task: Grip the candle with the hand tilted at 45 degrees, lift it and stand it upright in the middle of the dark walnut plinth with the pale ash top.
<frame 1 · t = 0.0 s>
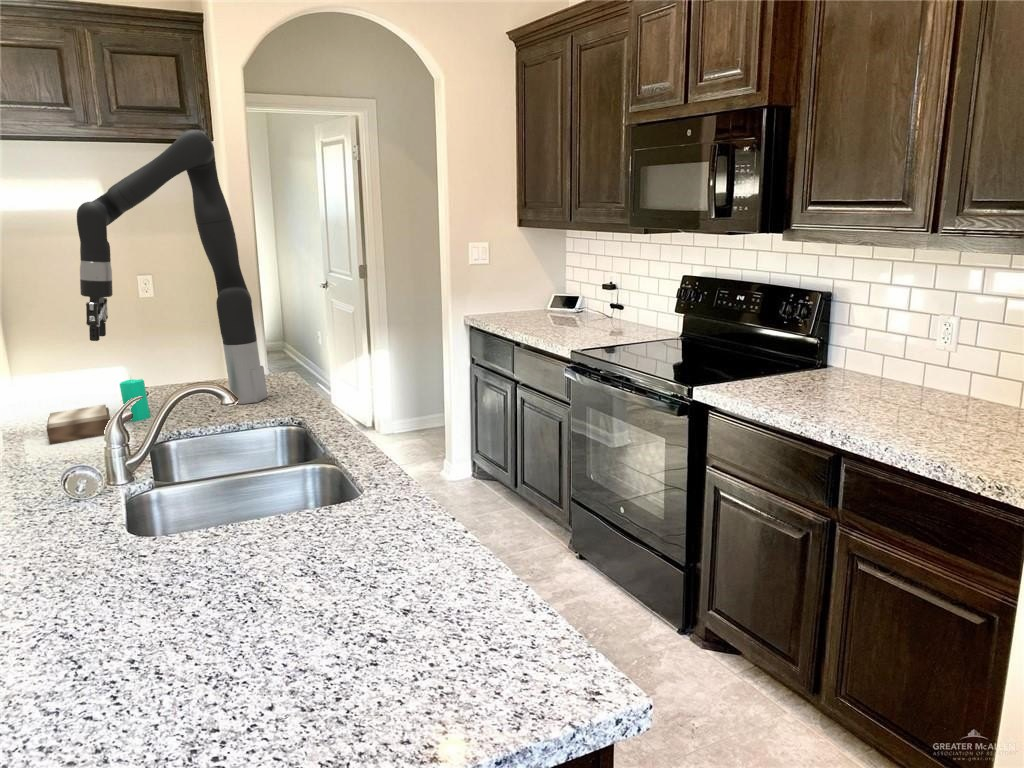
hand: (98, 338, 204), 22 cm above the countertop, tool pointing down, fingers open, 8 cm apart
plinth: (81, 432, 196), on the countertop
candle: (138, 418, 207), on the countertop
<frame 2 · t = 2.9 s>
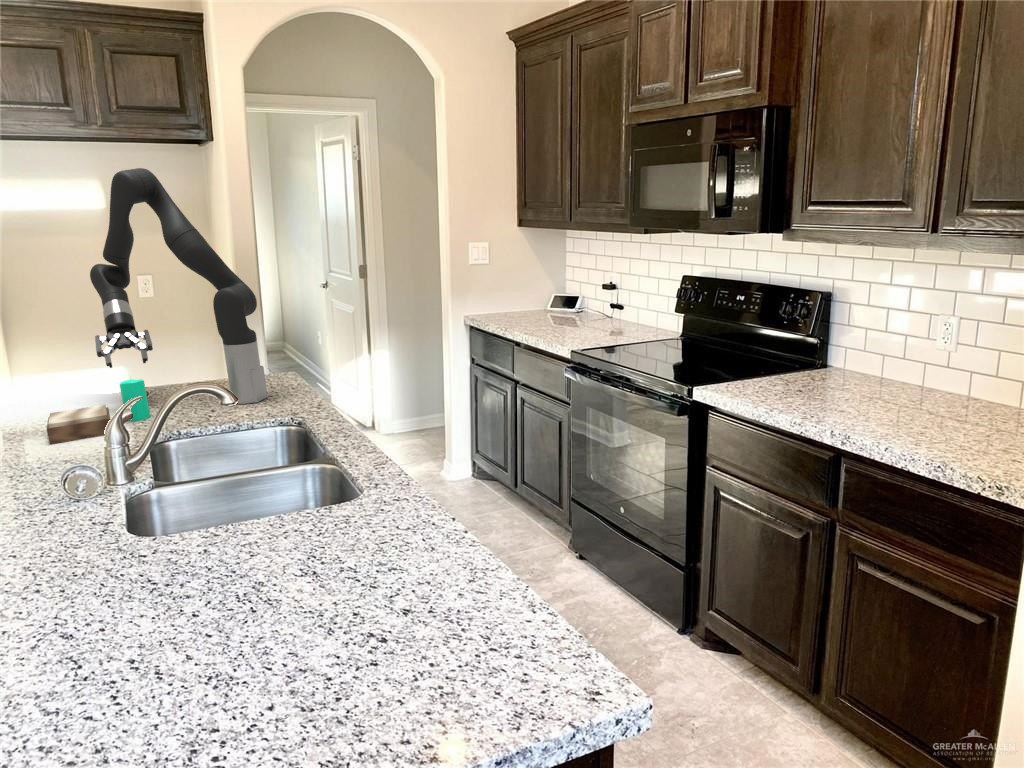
hand: (127, 363, 212), 14 cm above the countertop, tool tilted 45°, fingers open, 8 cm apart
nothing on the countertop moved.
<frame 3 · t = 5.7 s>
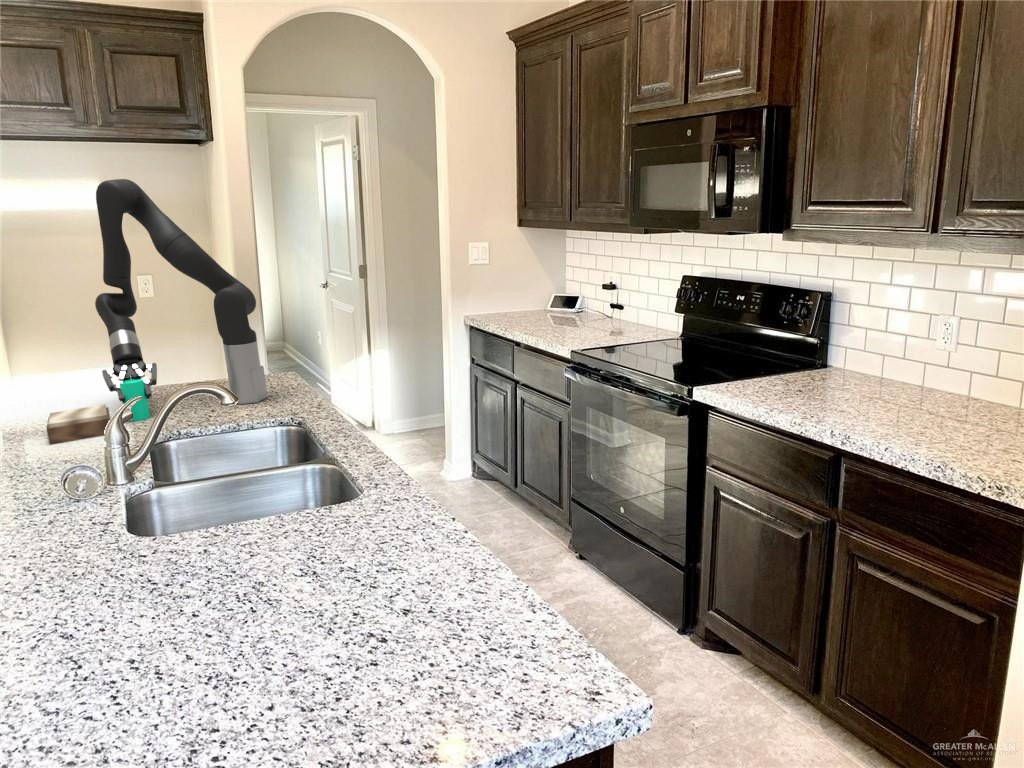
hand: (136, 399, 205), 6 cm above the countertop, tool tilted 45°, fingers closed on candle, 5 cm apart
candle: (138, 418, 207), on the countertop, touching gripper
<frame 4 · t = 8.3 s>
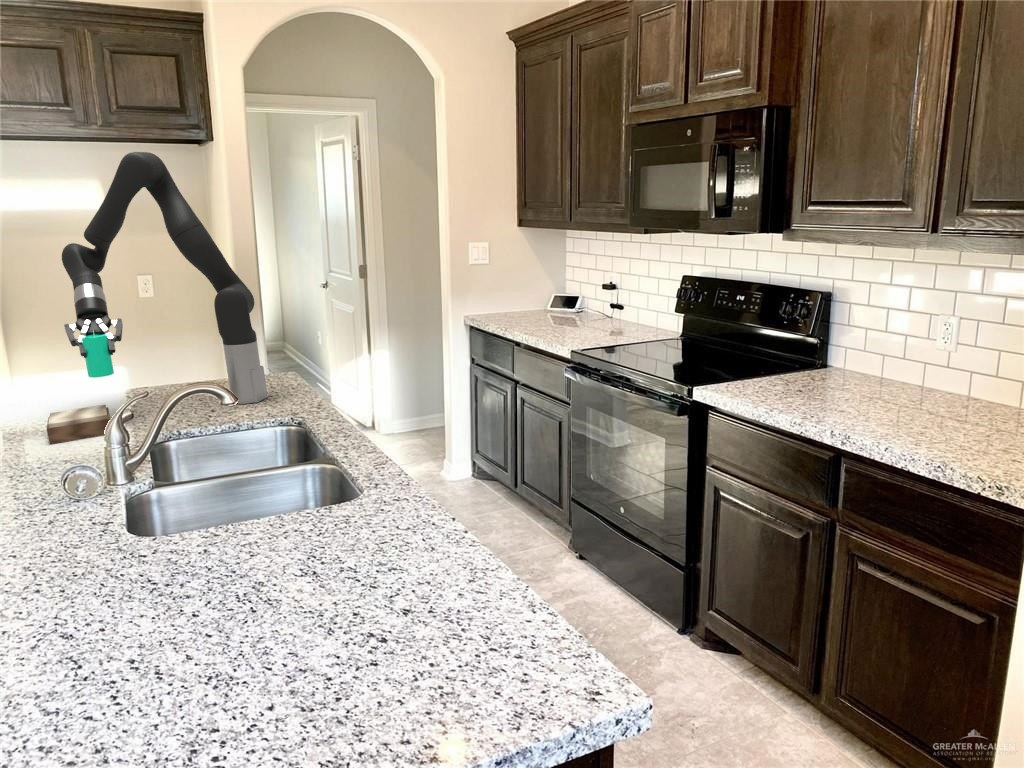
hand: (98, 354, 197), 19 cm above the countertop, tool tilted 45°, fingers closed on candle, 5 cm apart
candle: (101, 375, 200), point 13 cm above the countertop, touching gripper
when the fingers open (12 cm above the countertop, at t = 10.9 s): candle moves 1 cm, point 5 cm above the countertop.
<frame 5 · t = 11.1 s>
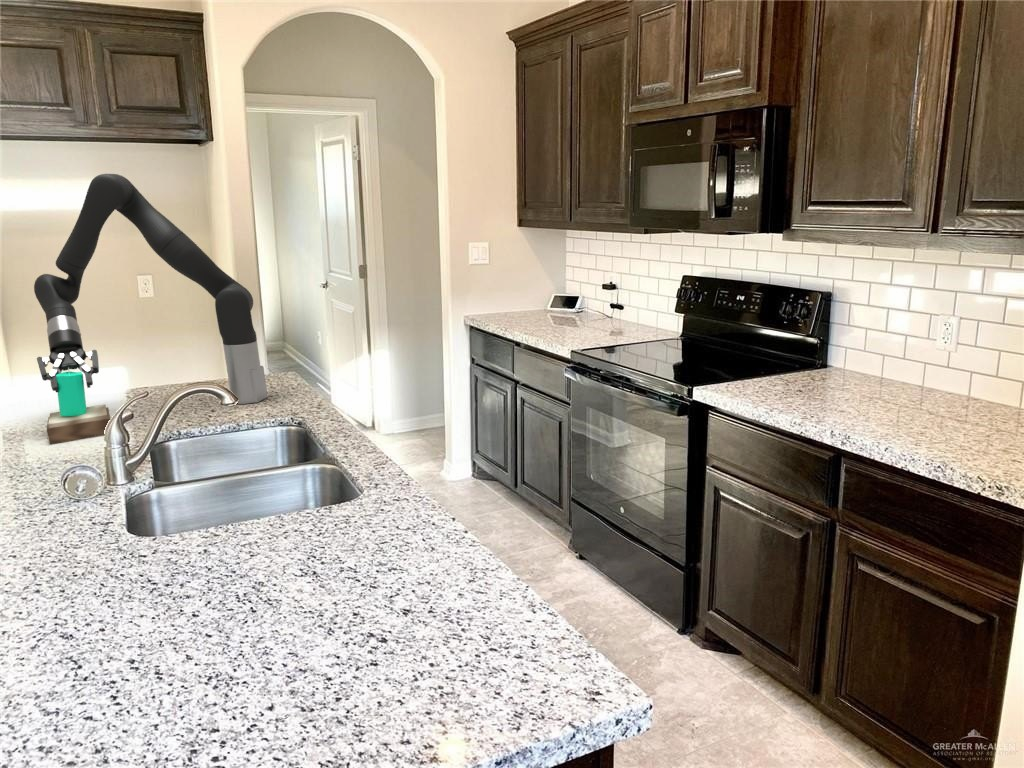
hand: (73, 388, 192), 12 cm above the countertop, tool tilted 45°, fingers open, 6 cm apart
candle: (73, 414, 195), point 5 cm above the countertop, touching gripper
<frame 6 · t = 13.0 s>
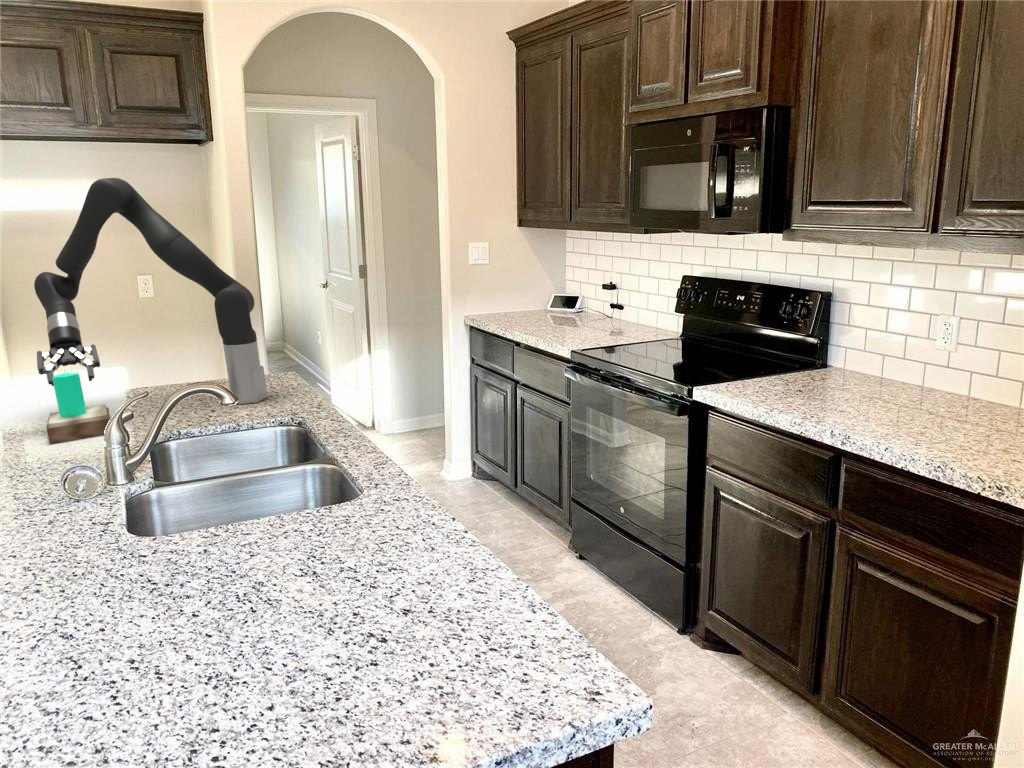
hand: (72, 381, 197), 13 cm above the countertop, tool tilted 45°, fingers open, 8 cm apart
candle: (73, 414, 195), point 5 cm above the countertop, touching plinth
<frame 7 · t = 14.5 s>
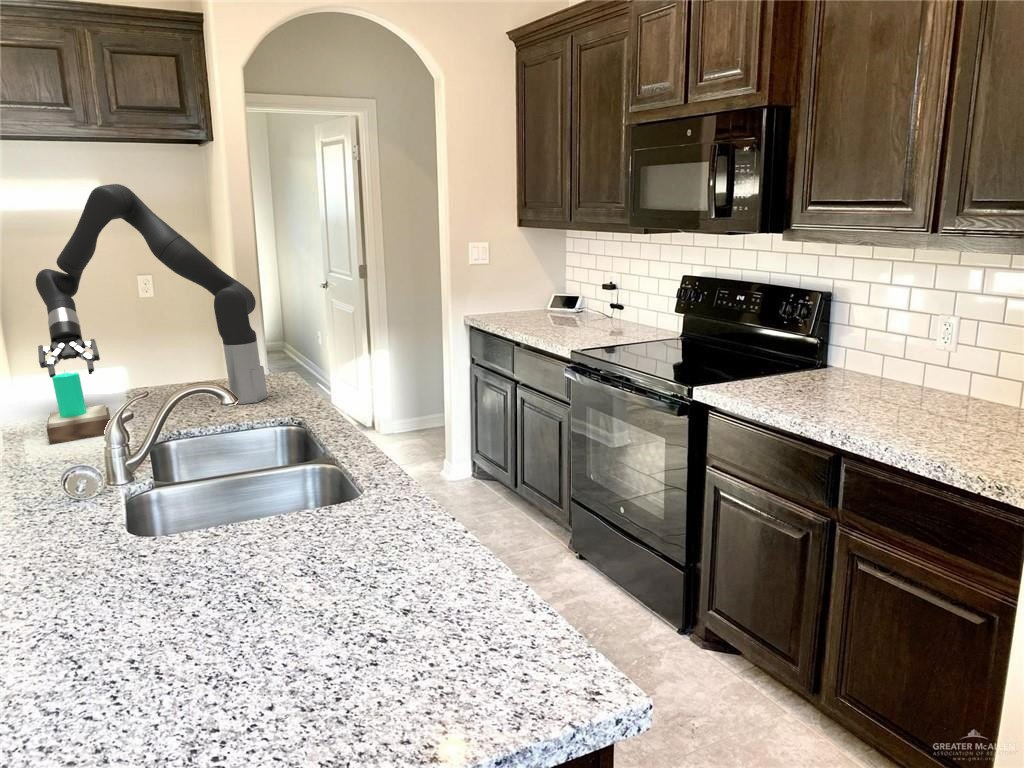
hand: (72, 374, 203), 13 cm above the countertop, tool tilted 45°, fingers open, 8 cm apart
nothing on the countertop moved.
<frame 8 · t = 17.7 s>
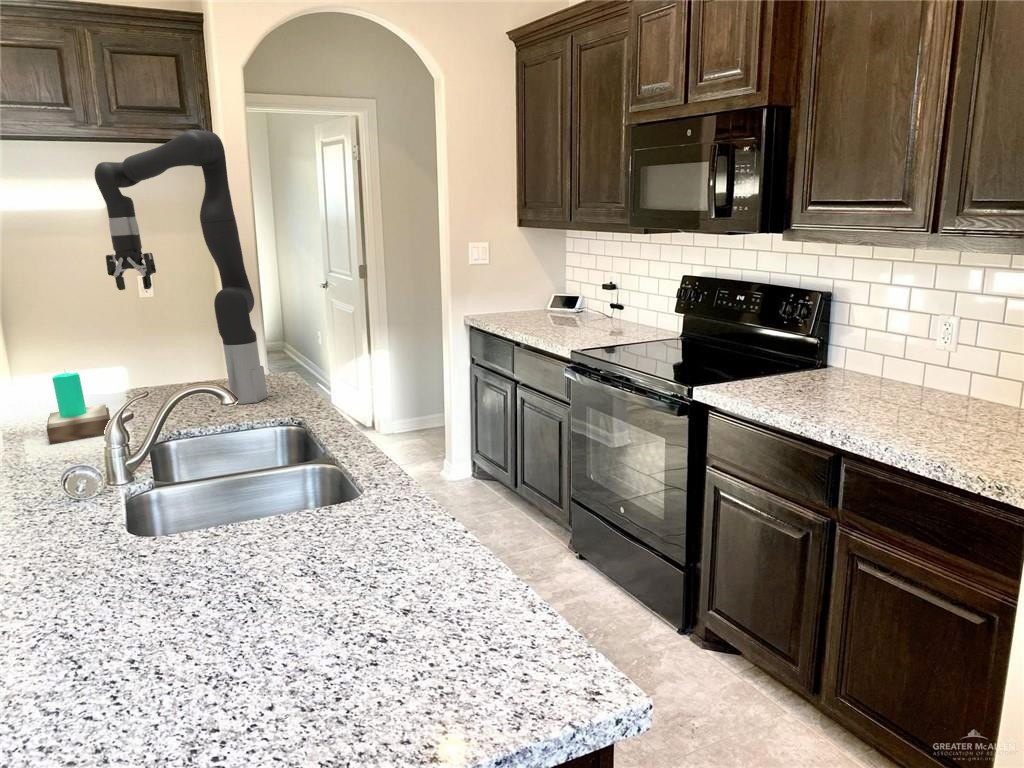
hand: (134, 289, 223), 33 cm above the countertop, tool pointing down, fingers open, 8 cm apart
nothing on the countertop moved.
at the end: candle inside the target area on the plinth (1.1 cm from its centre), point 4.8 cm above the plinth's base; candle tilted 0°; the gripper is holding nothing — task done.
